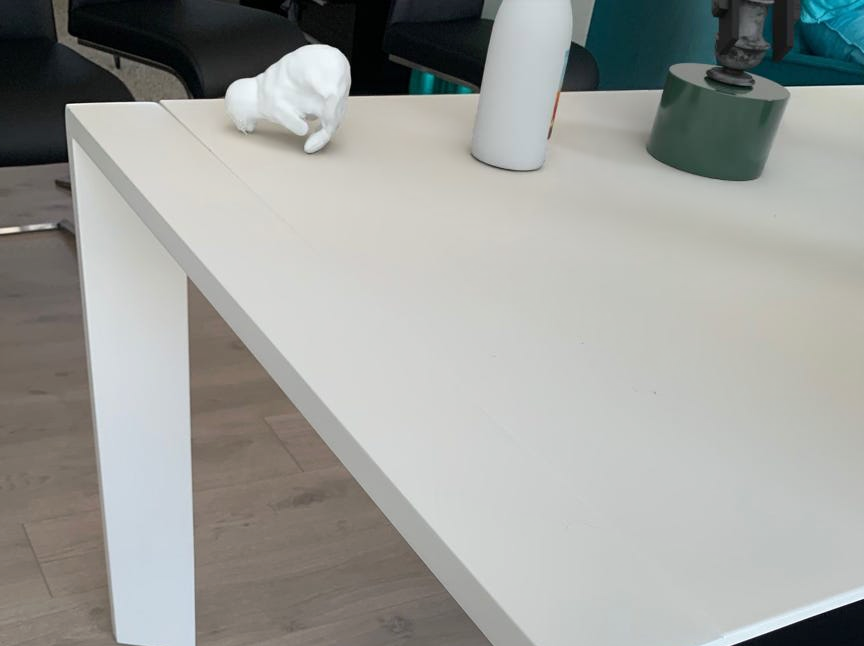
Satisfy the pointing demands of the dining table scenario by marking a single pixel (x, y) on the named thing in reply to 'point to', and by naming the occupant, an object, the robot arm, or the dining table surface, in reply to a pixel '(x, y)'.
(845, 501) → the dining table surface
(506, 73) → the milk bottle
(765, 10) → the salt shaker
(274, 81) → the white figurine
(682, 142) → the pedestal
